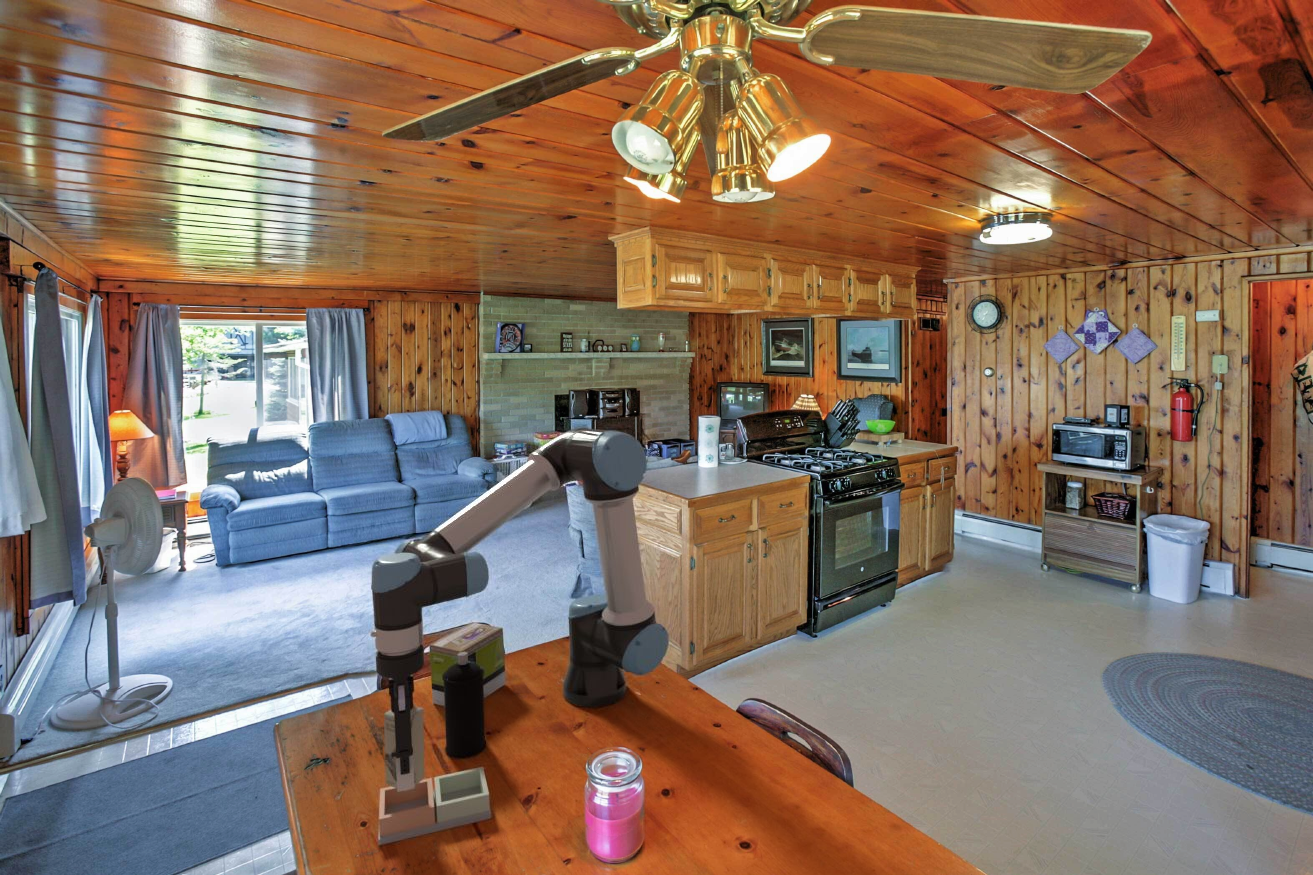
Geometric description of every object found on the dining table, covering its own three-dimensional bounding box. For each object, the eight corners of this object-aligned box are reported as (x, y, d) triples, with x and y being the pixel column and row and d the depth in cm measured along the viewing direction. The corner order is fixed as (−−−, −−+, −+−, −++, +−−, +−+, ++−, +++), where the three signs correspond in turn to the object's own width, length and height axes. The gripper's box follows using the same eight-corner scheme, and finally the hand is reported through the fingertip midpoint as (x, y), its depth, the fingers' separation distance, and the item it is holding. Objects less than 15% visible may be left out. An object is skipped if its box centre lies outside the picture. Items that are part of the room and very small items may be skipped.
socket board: (484, 784, 124) (483, 764, 124) (491, 818, 115) (490, 796, 115) (380, 807, 118) (378, 786, 118) (378, 845, 109) (377, 822, 108)
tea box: (474, 676, 168) (472, 620, 167) (506, 685, 164) (505, 626, 162) (430, 704, 155) (428, 642, 153) (464, 713, 150) (461, 650, 149)
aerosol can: (475, 761, 132) (471, 664, 130) (437, 756, 134) (433, 660, 131) (493, 738, 140) (490, 646, 138) (457, 734, 142) (453, 643, 139)
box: (384, 785, 113) (381, 713, 112) (403, 771, 117) (400, 701, 116) (409, 792, 111) (405, 719, 110) (427, 777, 115) (424, 707, 114)
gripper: (376, 629, 119) (383, 751, 122) (373, 675, 101) (380, 817, 104) (421, 623, 122) (426, 742, 125) (425, 667, 104) (431, 805, 107)
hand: (405, 776), depth 114 cm, fingers closed on box, 6 cm apart
